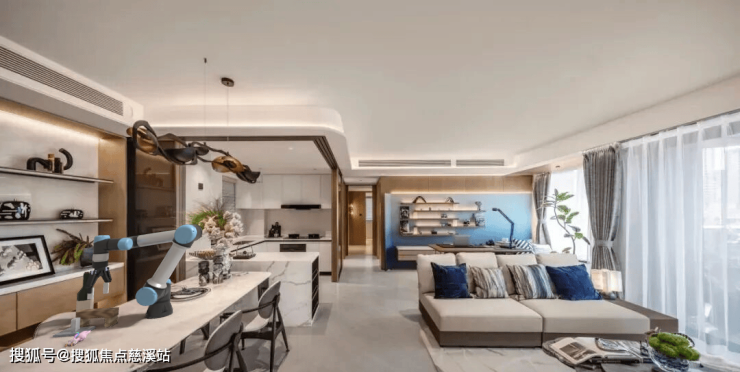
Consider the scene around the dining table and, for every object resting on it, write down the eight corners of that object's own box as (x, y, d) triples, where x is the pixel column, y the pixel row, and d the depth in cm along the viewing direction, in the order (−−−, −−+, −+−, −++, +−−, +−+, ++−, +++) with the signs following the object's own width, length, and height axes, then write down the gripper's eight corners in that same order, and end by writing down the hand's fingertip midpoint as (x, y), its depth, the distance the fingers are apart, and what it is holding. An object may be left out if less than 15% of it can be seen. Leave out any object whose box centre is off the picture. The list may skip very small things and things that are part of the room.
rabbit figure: (75, 349, 158) (96, 333, 172) (74, 338, 157) (95, 323, 172) (61, 350, 156) (83, 334, 171) (60, 339, 156) (82, 324, 171)
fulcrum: (95, 328, 184) (96, 314, 184) (81, 335, 173) (82, 320, 173) (68, 330, 181) (69, 316, 182) (52, 337, 170) (53, 322, 171)
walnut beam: (118, 314, 192) (119, 307, 193) (113, 317, 187) (113, 309, 188) (81, 317, 189) (82, 309, 189) (75, 319, 184) (75, 312, 184)
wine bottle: (82, 321, 195) (85, 273, 198) (71, 321, 197) (74, 272, 200) (96, 317, 204) (98, 270, 206) (86, 316, 205) (88, 270, 208)
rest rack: (117, 322, 193) (117, 314, 193) (110, 326, 186) (110, 317, 186) (84, 324, 189) (84, 316, 190) (75, 329, 183) (76, 320, 183)
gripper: (106, 258, 203) (104, 291, 201) (78, 264, 178) (75, 302, 176) (119, 257, 204) (117, 290, 202) (93, 263, 179) (90, 301, 178)
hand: (98, 296), depth 189 cm, fingers open, 13 cm apart
